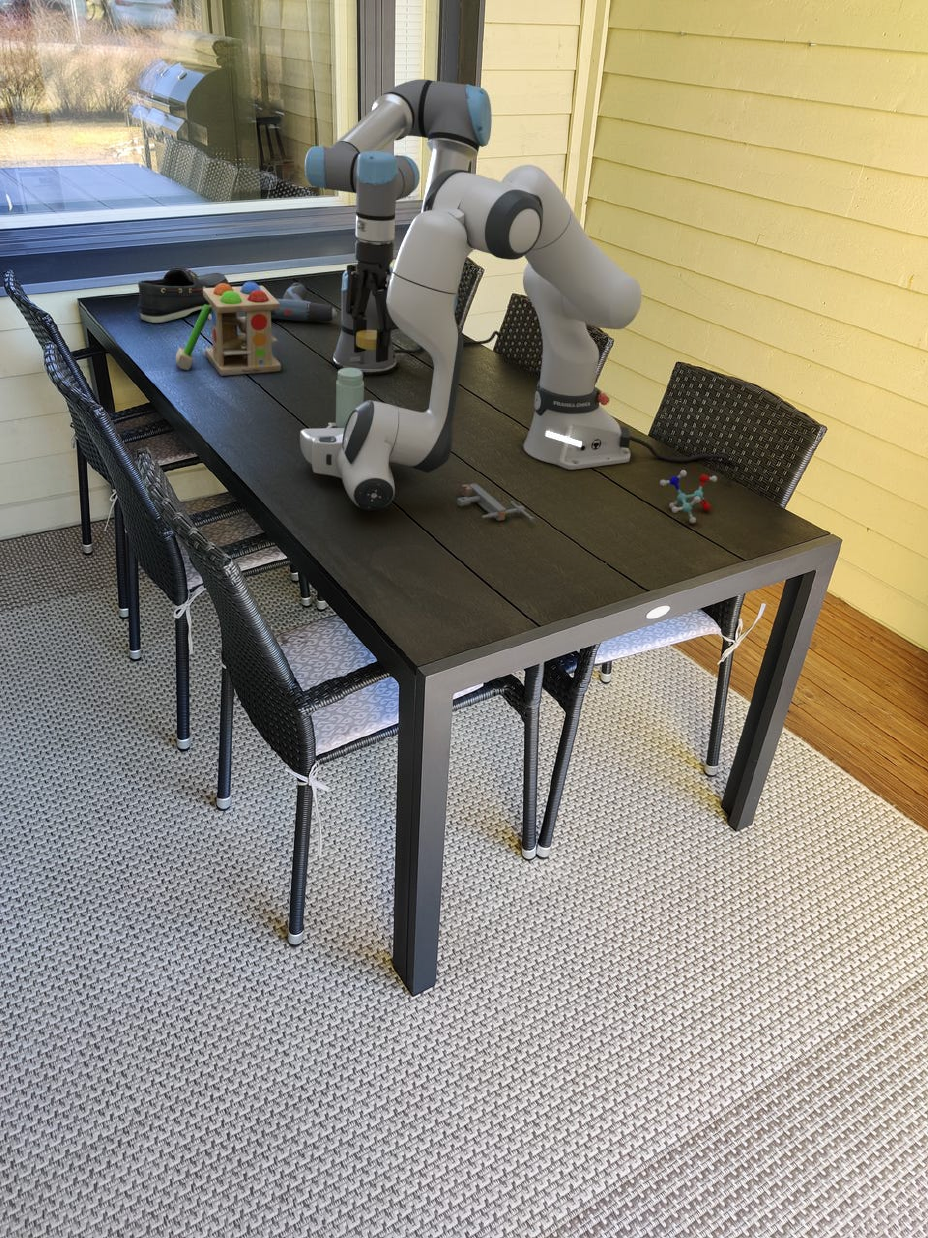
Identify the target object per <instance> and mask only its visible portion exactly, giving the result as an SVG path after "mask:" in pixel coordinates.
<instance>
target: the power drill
mask: <svg viewBox="0 0 928 1238" xmlns="http://www.w3.org/2000/svg"><path fill="white" fill-rule="evenodd" d="M307 295H308V290H307V287H306V285H304V284H303V283H301V282H293V283H292V284H291V285H290V286H289V287H288V288H287V289H286V291H285V292H284V294H283V297H282V298H275V299H276V300H277V301H278V302H279V303H280V310H271V319H274V320H275V319H276V320H283V321H294V322H295V321H297V322H332V321H333V320H334V319H336V318H337V317H338V312H337V311H336V308H334V307H333V306H332V305H331V304H324V303H317V302H313V301H307V300H305V299H306V297H307Z"/></svg>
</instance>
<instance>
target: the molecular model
mask: <svg viewBox="0 0 928 1238" xmlns="http://www.w3.org/2000/svg"><path fill="white" fill-rule="evenodd" d="M686 476H687V471H686V470H685V469H682V470H681V471H680V472H679V474H678V475H677V476H671V477H670V478H669V480H666V479H661V480H660V481H659V485H660V486H661V487H665V486H667V485H669V484H670V485H671V486H674V487H675V491H676V492H677V494H678V495H677V496H676V500H675V501H673V502H670V503H669V504H668V507H669V509H671V512H672V513H673V514H677V513H678V512H680V511H683V512H684V513H686V514H687V516H688V517H689V519H688V520H689V523H690V524H696V522H697V518H696V517H695V516H693V513H692V510H693V506H695V504H699V503H700V505H701V508H702V510H703V511H704V512H709V511H711V507H712V506H711V504H710V503H708V502H707V501H706V499H705V497H704V492H703V487H704V484H706V483H707V482H708V481H711V483H716V482H717V481H718V477H717V476H716V475H711V476H708V475H707V474H703V473H702V474H701V475H699V478H698V479H699V482H700V483H699V486H698V489H696V490H695V491H694V492H693V493H692V494H686V493H685V492H682V491H681V488H680V487H679V486H680V485H678V484H679V483H680V479H681V478H683V477H684V478H685V477H686ZM692 498H693V500H692V501H691V502H687V500H688V499H692ZM679 503H680V504H681V503H682V505H681V506H679V507H678V506H676V505H677V504H679Z"/></svg>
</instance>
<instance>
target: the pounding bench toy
mask: <svg viewBox="0 0 928 1238" xmlns="http://www.w3.org/2000/svg"><path fill="white" fill-rule="evenodd" d="M203 296H204V297H205V299H206V300H207V301H208V302H209V304H210V305H211V307H210V306H208V305H204V307H203V309H201V312H200V313H199V316H198V318H197V320H196V322H195V324H194V327H193V329H192V331H191V332H190V333H191V334H190V336H189V338H188V340H187V343H186V344H185V347H184V348H182V347H180V346H179V347H178V349H177V351H176V354H175V357H174V358H175V362H176V365H177V366H178V368H179V369H182V370H185V371H189V370H190V369H191V367H192V365H193V363H194V356H193V351H194V348H195V347H196V345H197V342H198V340H199V337H200V336H201V333H202V332H203V329H204V326H205V325H206V322H207V320H209V321H210V322H211V336H212V337H211V338H212V339H211V340H212V348H205V349H204V352H205V353H204V355H205V357H206V359H208V361H209V363H210V364H211V365H212V366H213V367H214V369H215V370H216V371H217V372H218V374H219V375H220V376H222V377H223V376H234V375H235V376H236V375H246V374H247V375H250V374H262V373H275V372H281V370H282V364H281V363H280V362H279V360H278V359H277V358H276V357H275V356H274V355H273V348H272V347H273V345H272V344H276V343H278V342H279V341H278V339H277V338H276V337H275V336H274V334H272V318H271V310H280V303H279V302H278V301H277V300H276V299H277V298H276V297H274V296H273V295H272V294H271V293H270V292H269V290H268V289H267V288H266V287H264V285H259V284H257V283H256V282H255V281H247V282H245V283H244V284H243V285H242V286H232V285H230V284H229V285H228V284H226V283H221V284H218V285H217V286H216V287H215V288H204V289H203ZM238 313H244V314H245V315H244V316H238ZM238 329H239V331H240V333H239V334H238Z"/></svg>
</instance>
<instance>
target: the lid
mask: <svg viewBox="0 0 928 1238" xmlns="http://www.w3.org/2000/svg"><path fill="white" fill-rule="evenodd" d="M376 338H377V330H362V331H359V332H357V336H356V345H357V346H358V347H360V348H363V349H367V350H376Z"/></svg>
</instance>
